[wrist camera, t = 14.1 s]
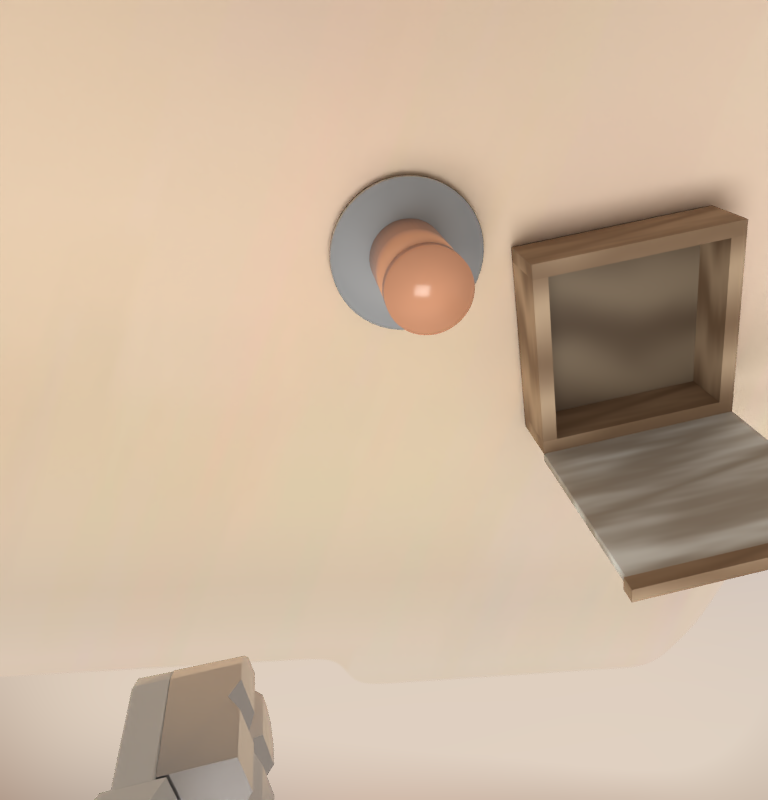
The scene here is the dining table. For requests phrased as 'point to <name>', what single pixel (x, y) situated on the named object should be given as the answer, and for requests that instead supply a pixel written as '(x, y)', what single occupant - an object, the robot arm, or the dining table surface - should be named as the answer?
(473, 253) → the grey flat disc
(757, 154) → the dining table surface
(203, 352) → the dining table surface
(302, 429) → the dining table surface
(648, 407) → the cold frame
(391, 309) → the orange cylinder
